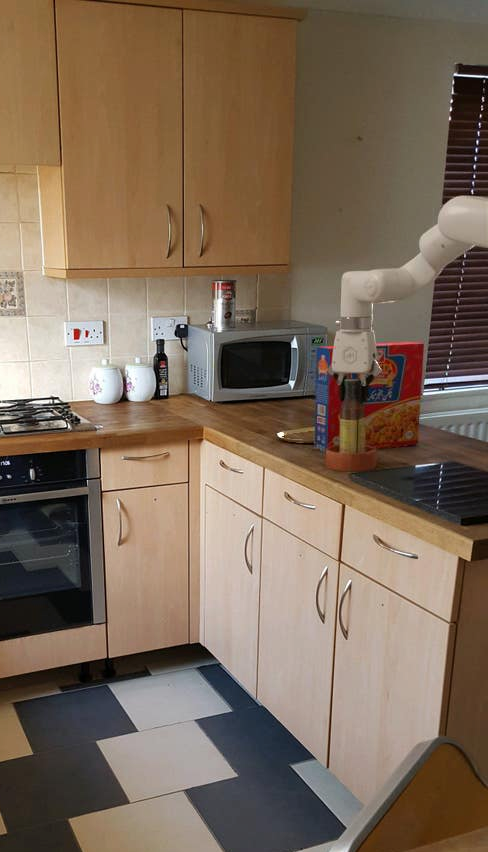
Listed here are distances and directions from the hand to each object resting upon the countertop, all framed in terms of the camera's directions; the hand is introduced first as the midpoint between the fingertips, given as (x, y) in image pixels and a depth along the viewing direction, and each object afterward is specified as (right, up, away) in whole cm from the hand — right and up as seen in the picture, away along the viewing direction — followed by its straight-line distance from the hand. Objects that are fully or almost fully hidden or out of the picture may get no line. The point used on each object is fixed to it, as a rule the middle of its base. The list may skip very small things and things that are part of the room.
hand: (353, 400), depth 217 cm
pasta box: (+10, -7, +30) cm, 32 cm away
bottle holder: (0, -16, +5) cm, 17 cm away
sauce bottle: (+1, -14, +5) cm, 15 cm away
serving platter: (+3, -2, +48) cm, 48 cm away
